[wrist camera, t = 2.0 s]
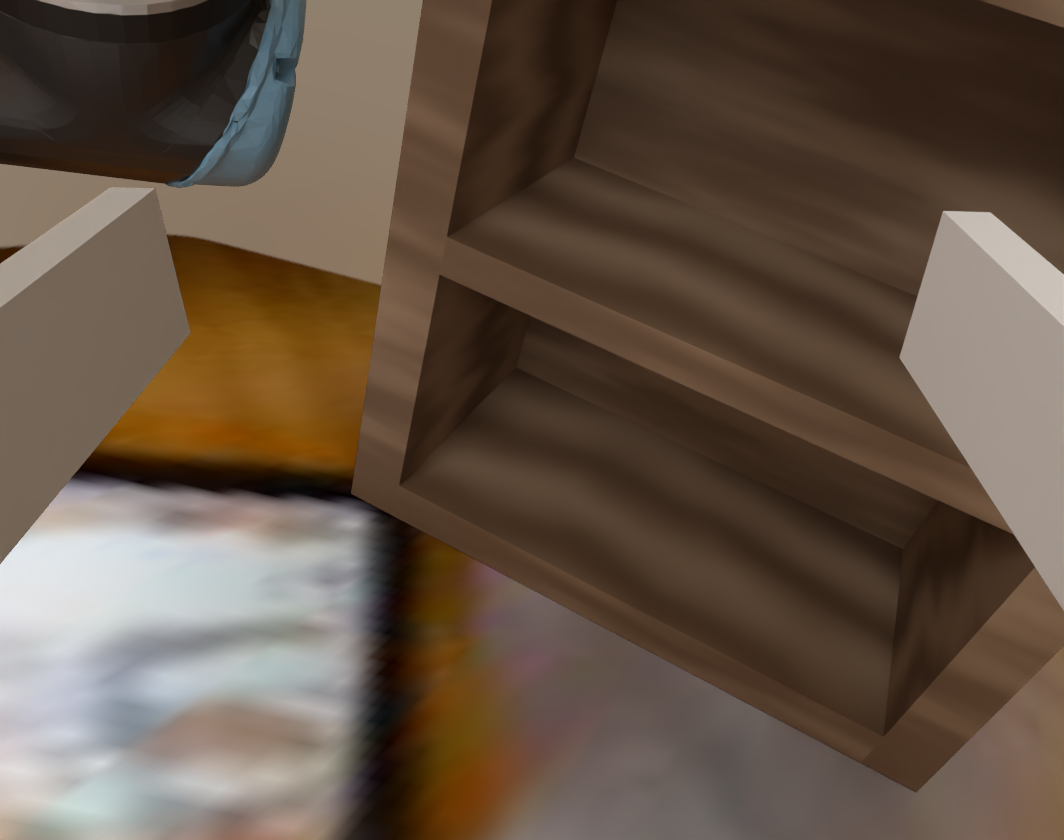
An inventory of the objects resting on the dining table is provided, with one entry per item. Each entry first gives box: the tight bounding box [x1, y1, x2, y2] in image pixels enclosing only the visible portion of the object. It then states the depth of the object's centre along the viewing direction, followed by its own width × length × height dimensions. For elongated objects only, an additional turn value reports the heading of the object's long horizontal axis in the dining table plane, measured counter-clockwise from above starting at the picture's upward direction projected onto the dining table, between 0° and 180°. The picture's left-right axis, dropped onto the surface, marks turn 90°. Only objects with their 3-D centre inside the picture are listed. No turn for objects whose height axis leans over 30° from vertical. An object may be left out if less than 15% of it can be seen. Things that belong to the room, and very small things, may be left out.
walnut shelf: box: [351, 0, 1064, 792], centre depth 34 cm, size 14×28×30 cm, turn 64°
